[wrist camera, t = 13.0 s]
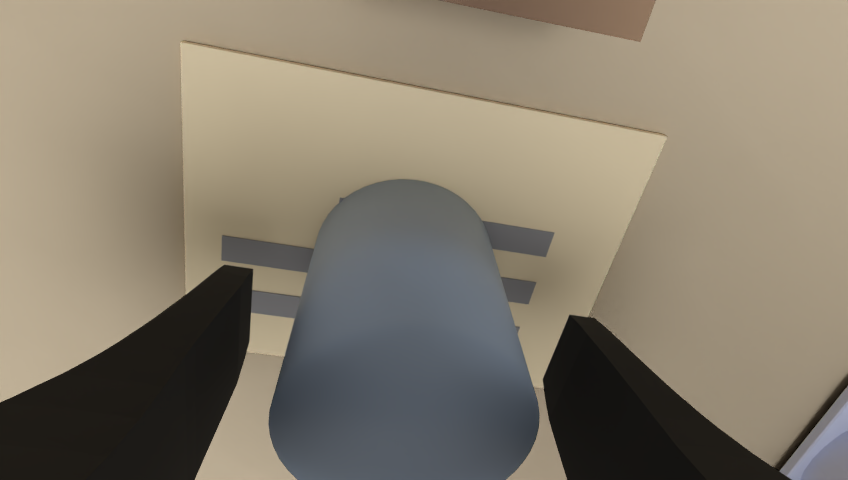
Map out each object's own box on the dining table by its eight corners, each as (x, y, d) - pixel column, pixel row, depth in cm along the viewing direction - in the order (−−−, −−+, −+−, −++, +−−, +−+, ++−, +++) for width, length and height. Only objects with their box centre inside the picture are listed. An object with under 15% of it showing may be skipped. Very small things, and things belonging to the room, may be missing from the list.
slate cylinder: (507, 189, 14) (569, 336, 9) (474, 335, 17) (508, 517, 11) (317, 169, 14) (265, 313, 8) (312, 323, 16) (270, 508, 11)
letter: (663, 134, 14) (668, 137, 14) (554, 385, 18) (556, 390, 18) (183, 40, 12) (179, 42, 12) (188, 340, 17) (186, 345, 16)
